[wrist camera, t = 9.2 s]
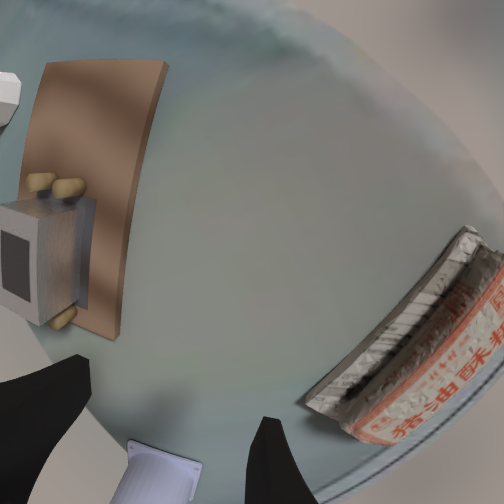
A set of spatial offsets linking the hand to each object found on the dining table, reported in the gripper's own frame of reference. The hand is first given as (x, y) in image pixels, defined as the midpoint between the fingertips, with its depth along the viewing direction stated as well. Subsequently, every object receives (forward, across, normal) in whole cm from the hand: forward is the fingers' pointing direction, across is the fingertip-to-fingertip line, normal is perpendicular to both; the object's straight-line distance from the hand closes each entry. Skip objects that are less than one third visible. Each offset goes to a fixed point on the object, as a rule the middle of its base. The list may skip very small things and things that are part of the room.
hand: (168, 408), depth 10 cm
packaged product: (+11, -16, 0) cm, 20 cm away
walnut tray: (+10, +12, -5) cm, 17 cm away
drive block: (+9, +12, -1) cm, 16 cm away
